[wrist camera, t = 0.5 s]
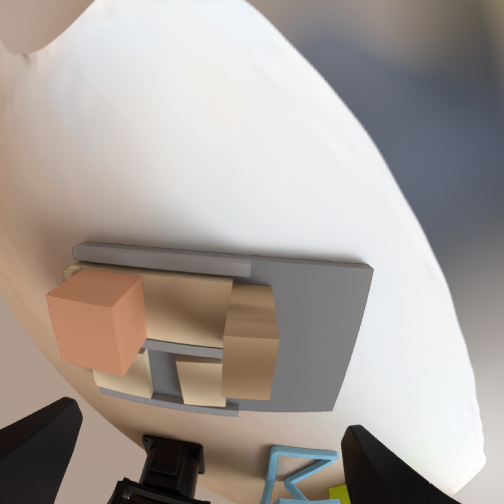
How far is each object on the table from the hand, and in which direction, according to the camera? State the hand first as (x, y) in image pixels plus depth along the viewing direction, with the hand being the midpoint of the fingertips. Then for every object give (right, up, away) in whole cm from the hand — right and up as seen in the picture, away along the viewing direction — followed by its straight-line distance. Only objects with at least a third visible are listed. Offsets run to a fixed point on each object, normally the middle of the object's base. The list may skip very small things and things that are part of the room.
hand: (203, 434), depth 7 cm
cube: (-7, +2, +10) cm, 12 cm away
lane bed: (-1, -1, +13) cm, 13 cm away
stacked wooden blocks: (-4, +2, +11) cm, 12 cm away
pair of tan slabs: (-6, -4, +12) cm, 14 cm away
